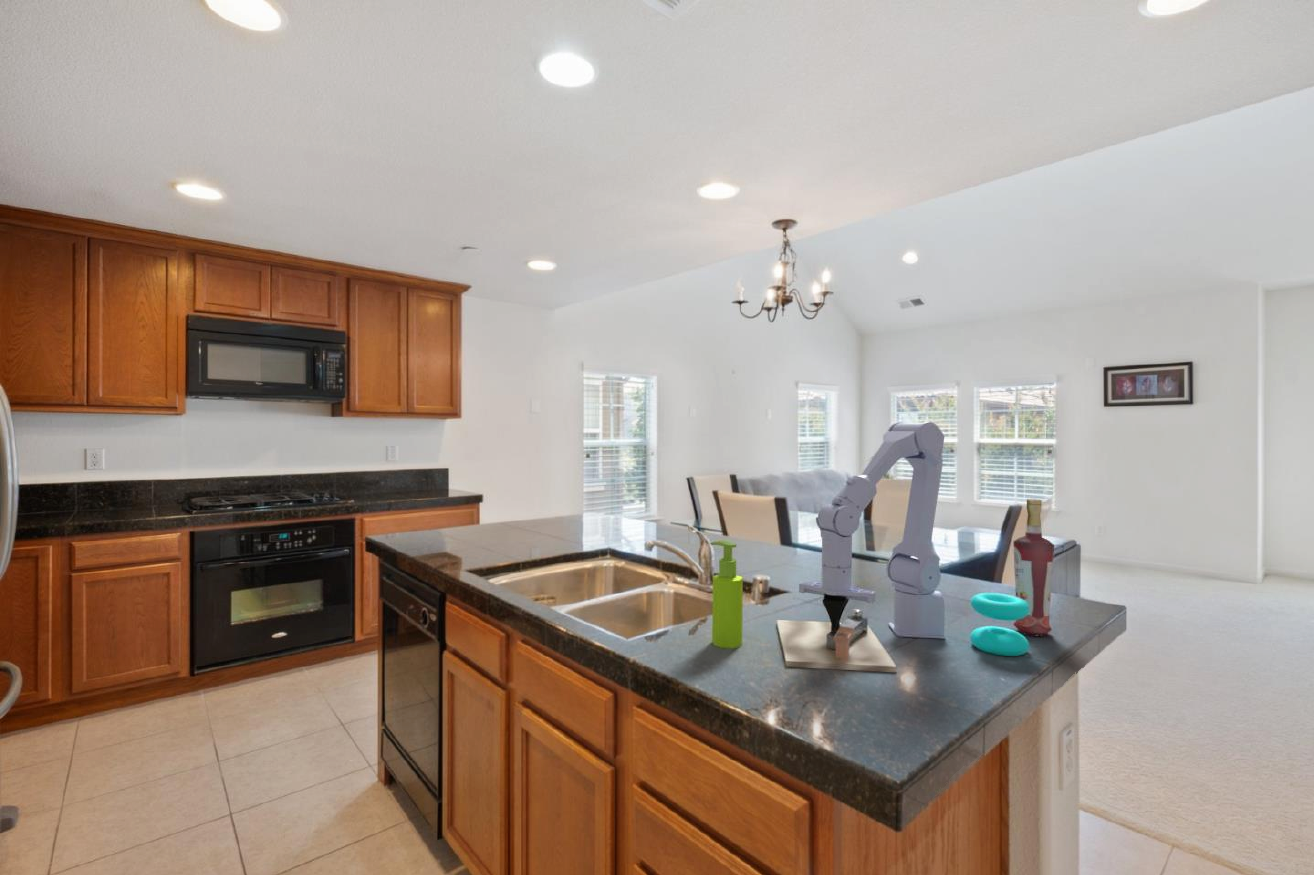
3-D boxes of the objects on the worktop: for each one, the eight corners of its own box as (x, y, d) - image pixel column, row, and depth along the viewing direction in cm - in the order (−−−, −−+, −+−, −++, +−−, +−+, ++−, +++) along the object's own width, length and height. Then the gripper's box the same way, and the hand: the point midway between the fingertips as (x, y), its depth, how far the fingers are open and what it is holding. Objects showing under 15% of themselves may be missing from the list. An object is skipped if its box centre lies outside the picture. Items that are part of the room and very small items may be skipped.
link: (850, 625, 130) (850, 606, 130) (870, 629, 128) (870, 609, 128) (823, 647, 117) (824, 626, 117) (844, 651, 115) (845, 630, 115)
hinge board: (867, 628, 132) (867, 623, 132) (896, 672, 108) (896, 666, 108) (776, 624, 134) (776, 619, 134) (786, 666, 111) (786, 660, 111)
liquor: (1059, 639, 126) (1061, 502, 125) (1019, 637, 127) (1021, 501, 127) (1044, 628, 133) (1046, 498, 132) (1007, 626, 134) (1008, 497, 134)
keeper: (840, 647, 118) (840, 626, 118) (854, 649, 117) (854, 628, 117) (834, 657, 113) (834, 635, 112) (848, 659, 111) (848, 637, 111)
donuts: (1034, 607, 114) (973, 601, 118) (1033, 661, 114) (972, 653, 118) (1025, 594, 123) (969, 589, 127) (1024, 644, 123) (968, 637, 127)
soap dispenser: (721, 634, 127) (721, 538, 127) (748, 643, 123) (748, 542, 122) (702, 641, 123) (703, 541, 123) (729, 650, 118) (730, 546, 118)
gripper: (794, 564, 123) (793, 632, 123) (869, 573, 116) (868, 646, 116) (805, 558, 129) (804, 622, 129) (877, 566, 122) (876, 635, 122)
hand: (835, 633), depth 123 cm, fingers closed
